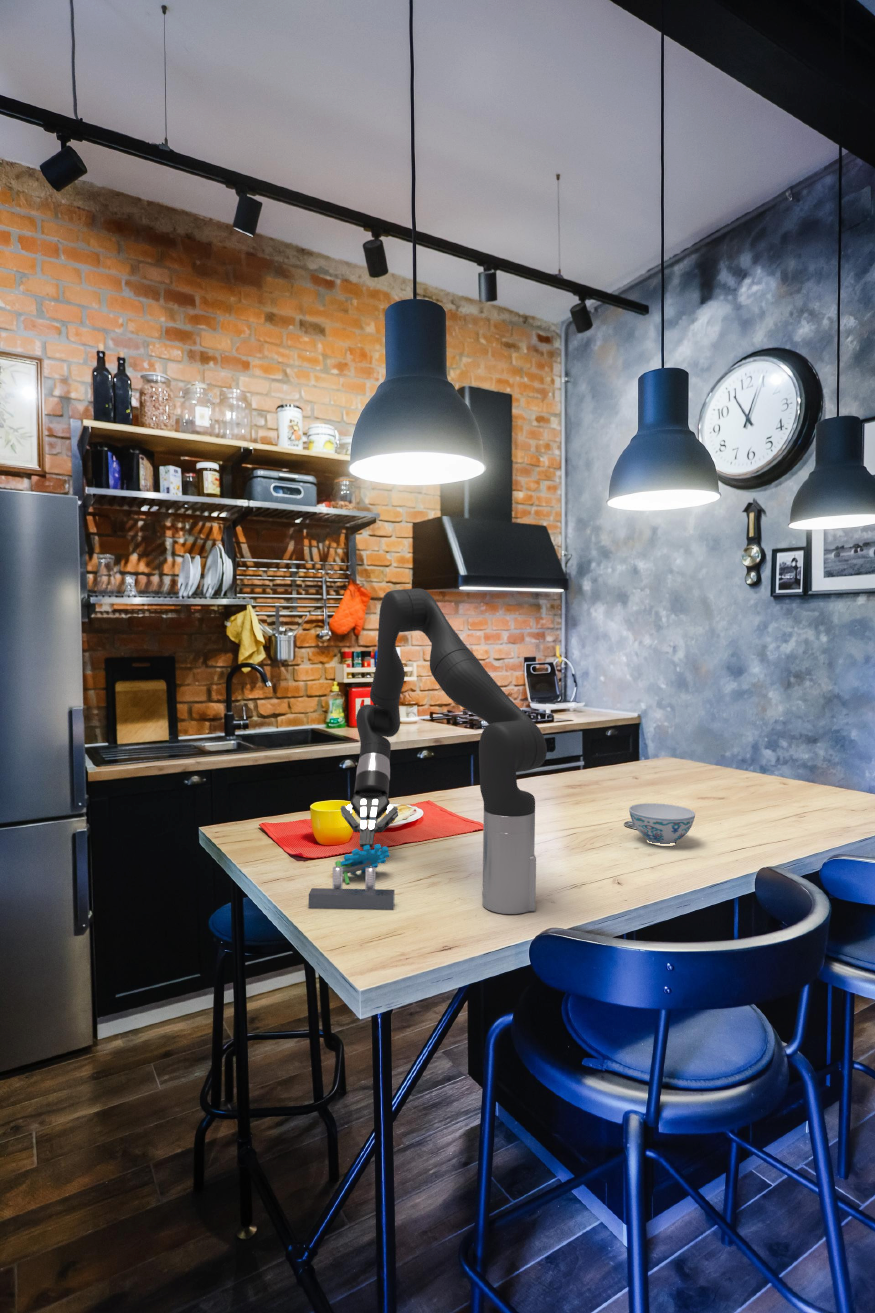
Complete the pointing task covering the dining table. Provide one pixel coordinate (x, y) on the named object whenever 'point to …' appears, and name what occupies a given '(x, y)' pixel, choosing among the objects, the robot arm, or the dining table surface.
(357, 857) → the blue bumpy piece
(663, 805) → the chinaware
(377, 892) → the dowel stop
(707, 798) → the dining table surface
